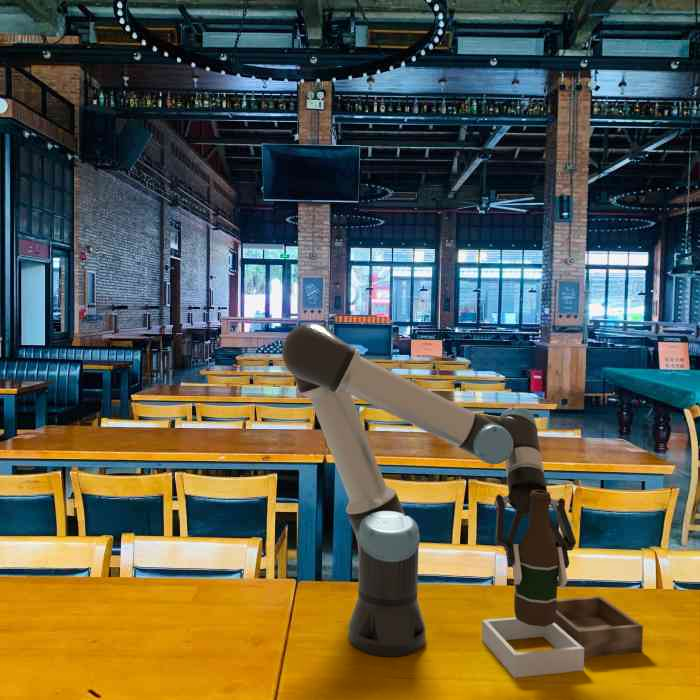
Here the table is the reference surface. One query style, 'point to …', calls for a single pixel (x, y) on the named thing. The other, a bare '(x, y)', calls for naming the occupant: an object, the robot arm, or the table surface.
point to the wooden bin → (598, 626)
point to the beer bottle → (537, 567)
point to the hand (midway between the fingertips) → (541, 582)
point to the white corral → (532, 662)
